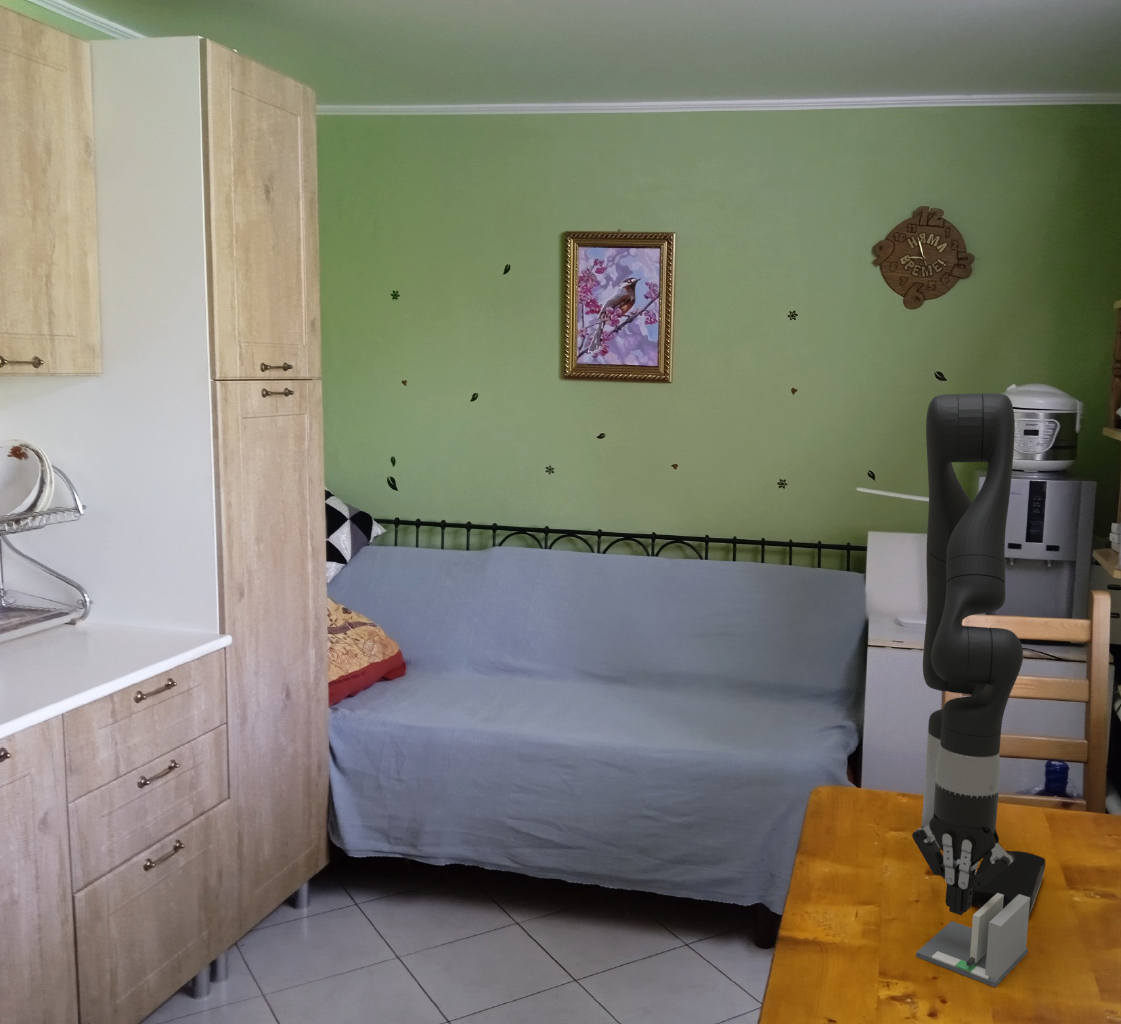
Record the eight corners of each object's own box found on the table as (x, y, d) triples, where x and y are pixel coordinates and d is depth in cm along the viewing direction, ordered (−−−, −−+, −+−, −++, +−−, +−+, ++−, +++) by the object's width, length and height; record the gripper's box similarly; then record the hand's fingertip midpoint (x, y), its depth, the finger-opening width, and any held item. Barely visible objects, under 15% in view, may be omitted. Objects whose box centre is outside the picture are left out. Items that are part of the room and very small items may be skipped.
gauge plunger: (994, 936, 142) (997, 892, 141) (1000, 938, 141) (1003, 894, 141) (965, 964, 135) (968, 918, 134) (971, 967, 134) (975, 921, 134)
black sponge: (1029, 925, 148) (1031, 899, 148) (963, 908, 152) (965, 883, 152) (1046, 879, 162) (1048, 855, 162) (985, 864, 166) (987, 841, 166)
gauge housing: (951, 924, 147) (955, 871, 146) (1027, 952, 141) (1032, 896, 140) (915, 956, 139) (919, 899, 138) (995, 987, 133) (1000, 927, 132)
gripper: (1031, 787, 137) (1020, 918, 139) (928, 761, 146) (920, 884, 148) (1009, 805, 131) (999, 941, 134) (904, 776, 140) (895, 904, 142)
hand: (957, 911), depth 141 cm, fingers closed
